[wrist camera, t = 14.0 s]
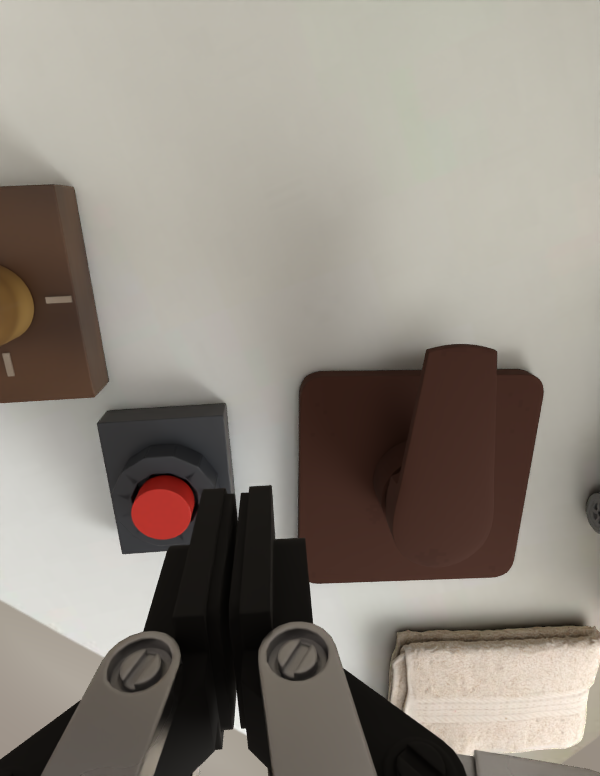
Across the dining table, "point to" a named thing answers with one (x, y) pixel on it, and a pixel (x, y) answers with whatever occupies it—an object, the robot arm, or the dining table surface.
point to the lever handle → (415, 468)
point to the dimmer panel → (49, 298)
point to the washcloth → (497, 685)
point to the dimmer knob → (14, 306)
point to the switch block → (163, 460)
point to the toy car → (594, 511)
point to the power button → (163, 507)
